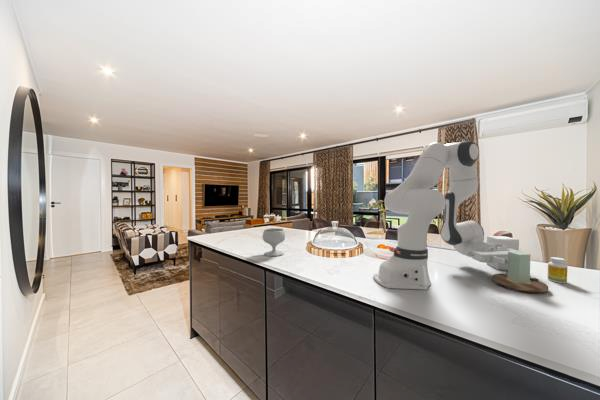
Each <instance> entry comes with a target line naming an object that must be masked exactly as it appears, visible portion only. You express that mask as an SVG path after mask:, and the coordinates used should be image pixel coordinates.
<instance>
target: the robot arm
mask: <svg viewBox="0 0 600 400" xmlns="http://www.w3.org/2000/svg"><path fill="white" fill-rule="evenodd" d="M479 156H480V148H479V145H478V144H477V143H476V142H475V141H473V140H462V141H460V142H459V141H458V142H457V141H456V142H452V143H446V144H444V143H442V142H431V143H429V144H428V145H427V146H426V147H425V148H424V150H423V151H422V153H420V156H419V157H418V159H417V161H416V163H415V165H414V166H413V167H412V170H411V171H410V173H409V175H408V176H407V177H406V178H405V179H404V180H403V181H402V182H401V183H400V184H399V185H398V186H396V187H395V188H393V189H391V190H390V191H388V192H387V193H386V194H385V196H384V199H383V201H384V202H383V203H384V206H385V208H386V209H387V210H388V211H390V212H392V213H394V214H400V215H407V220H406V222H405V223H402V224H401V225H399V227H398V228H397V245H396V247H394V246H389V248H388V250H389V252H391V253H393V254H391V256H390V257H388V258H387V259H385V260H384V261H383V262H381V263H380V266H379V269H378V272H377V273H373V279H374V281H375V282H376V283H378V284H379V285H380V286H383V287H384V288H388V289H397V290H398V289H399V290H400V289H401V290H407V289H408V290H423V291H425V290H426V291H427V290H428V287H429V286H430V285H431V284H432V282H431V280H430V275H429V269H428V260H429V259H428V258H429V251H428V250H429V249H428V245H427V244H428V243H427V242H428V232H429V229H430V225H431V223H432V222H433V221H434V219H435V218H436V217H437V216H439V215H441V214H442V224H441V229H440V237H441V239H442V241H443V242H445V243H446V244H448V245H450V246H453V248H454V249H455V251H456V252H457V253H459V254H461V255H463V256H466V257H468V258H471V259H472V260H474V261H477V262H479V263H484V264H487V263H491V262H498V263H502V264H507V262H508V252H522V253H525V252H524V251H521V250H519V251H518V250H515V249H511V248H506V246H504V245H495V244H490V243H487V242H484V239H485V232H484V231H485V230H484V228H483V226H482V225H481V224H480V223H479V222H478V221H476V220H473V219H471V220H466V221H461V222H457V216H458V215H457V214H458V207H460V205H461V204H462V203H463V202H464V201H466V200H467V199H469V198H470V197H472V196H473V195H474V194H476V192H477V190H478V187H479V179H478V171H477V168H476V164H475V163H476V161H478V159H479ZM445 168H449V169H448V178H449V179H448V180H449V186H448V190H447V192H446V193H445V194H444V193H443V192H442V191H440V190H437V189H432V188H433V187H435V186H436V185H437V184H438V183H439V180H440V178H441V176H442V174H443V172H444V170H445Z"/></svg>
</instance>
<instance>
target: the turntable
mask: <svg viewBox="0 0 600 400" xmlns="http://www.w3.org/2000/svg"><path fill="white" fill-rule="evenodd" d="M507 277H508V273H494V274H492V275H491V280H492V281H493V282H494V283H496V284H498V285H499V284H501V285H504V286H507V287H510V288H514V289H518V290H523V291H530V292H540V293H545V292H547V291H549V285H548V284H546V283H545V282H542V281H540V280H539V278H537V277H530V283H518V282H515V281H512V280H510V279H507ZM501 285H500V286H501Z"/></svg>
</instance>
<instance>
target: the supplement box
mask: <svg viewBox="0 0 600 400" xmlns="http://www.w3.org/2000/svg"><path fill="white" fill-rule="evenodd" d="M486 243H490V244H495V245H504V246H506V248H511V249H515V250H518V251H520V250H519V249H520V246H519V245H520V239H517V238H514V237H509V236H506V235H504V236H503V235H487V236H486ZM486 265H488V266H490V267H491V268H494V269H495V270H500V271H501V270H504V271H508V262H507V264H502V263H498V262H491V263H486Z"/></svg>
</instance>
